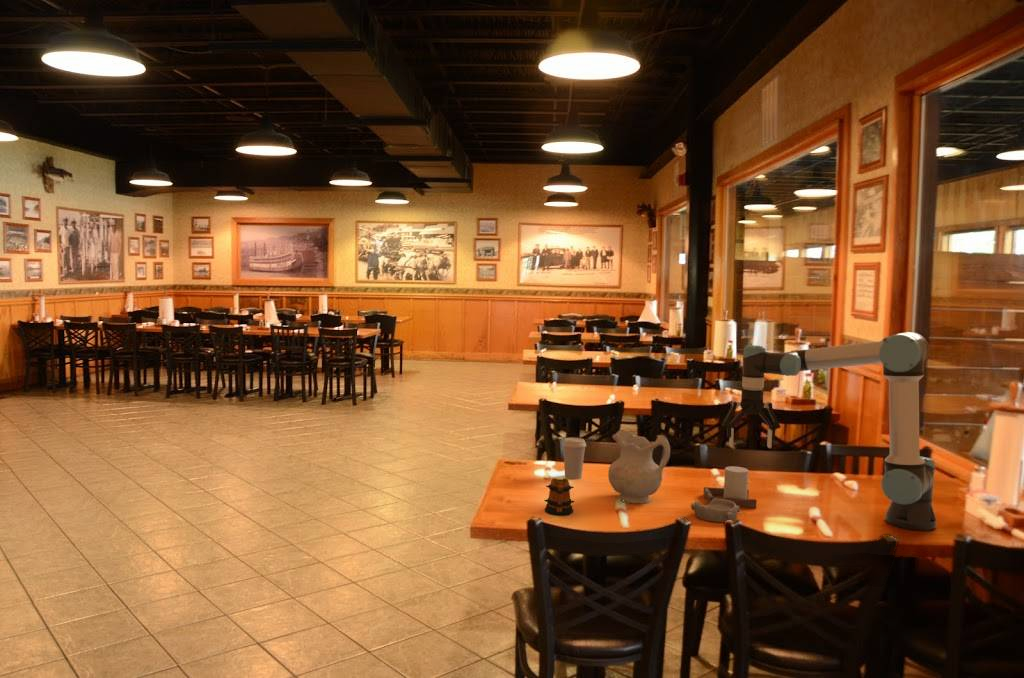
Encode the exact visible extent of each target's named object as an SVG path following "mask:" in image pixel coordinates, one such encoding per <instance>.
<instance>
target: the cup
mask: <svg viewBox="0 0 1024 678" xmlns="http://www.w3.org/2000/svg"><path fill="white" fill-rule="evenodd" d="M749 473H750V471H749V469H748V468H745V467H741V466H731V465H730V466H726V467H725V468H724V483H723V488H724V498H745V499H748V498H747V490H749V489H748V487H749Z"/></svg>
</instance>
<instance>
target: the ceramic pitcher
mask: <svg viewBox="0 0 1024 678" xmlns="http://www.w3.org/2000/svg"><path fill="white" fill-rule="evenodd" d="M612 439H613V440H614V441H615V442H616V443H617V444H618V446H619V449H620V453H619V454H620V455H619V457H618V458H617V459H616V460H615V461H613V462H612V463H611V464H610V465H609V467H608V480H609V481H608V482H609V483H610V485H611V487H612V488H613V490H614V491H615V492H617V493H619V495H618V499H619V500H620V499H622V500H624V501H625V503H627V504H631V505H632V504H649V503H650V502H651V501H652V499H651V498H650V496H652V495H654V494H655V493H656V492H657V491H658V489H659V488H660V486H661V485H662V481H663V470H664V468H665V467H666V466H667V464H668V462H669V460H670V456H671V445H670V443H669V440H668V437H667V436H666V435H664V434H658V435H656V439H655V441H649V440H648V439H647V438H646V437H645V436H637V435H636V436H635V435H633V433H632V432H631V431H627V430H626V429H620V430H617V432H616V433H614V434H612ZM659 446H662V447H663V450H664V452H663V453H664V454H663V456H662V458H661V460H660V462H659V465H658V464H657V463H656V462H655V461H654V459H653V451H654V449H656V448H657V447H659ZM624 501H623V502H624Z"/></svg>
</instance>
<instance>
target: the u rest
mask: <svg viewBox="0 0 1024 678" xmlns="http://www.w3.org/2000/svg"><path fill="white" fill-rule="evenodd" d="M749 492H750V491H749V489H748V490H747V499H745V498H724V487H710V486H709V487H707V486H703V493H702V495H703V496H704V498H705V500H706V502H707V503H708V504H709V503H710V502H711V501H712V500H713V498H718V499H725V500H730V501H732V502H734V503H735V504H736V506H739V507H740V509H757V502H758V501H757V499H756V498H749ZM708 504H707V505H708Z"/></svg>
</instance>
